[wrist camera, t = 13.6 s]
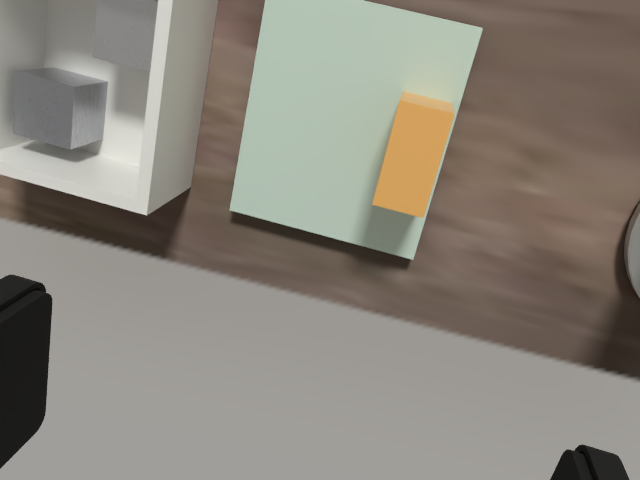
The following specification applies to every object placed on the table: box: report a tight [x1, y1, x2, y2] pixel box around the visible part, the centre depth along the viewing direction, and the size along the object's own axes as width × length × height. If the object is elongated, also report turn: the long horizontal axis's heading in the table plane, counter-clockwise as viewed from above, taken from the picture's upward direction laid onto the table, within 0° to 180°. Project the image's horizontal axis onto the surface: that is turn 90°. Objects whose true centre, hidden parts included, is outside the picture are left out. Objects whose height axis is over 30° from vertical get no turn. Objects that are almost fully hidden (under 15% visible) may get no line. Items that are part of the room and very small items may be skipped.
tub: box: [0, 0, 218, 215], centre depth 37 cm, size 12×14×7 cm
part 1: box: [13, 67, 108, 150], centre depth 39 cm, size 4×4×4 cm
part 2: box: [92, 0, 158, 72], centre depth 36 cm, size 4×4×4 cm
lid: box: [230, 0, 483, 260], centre depth 36 cm, size 13×15×7 cm
